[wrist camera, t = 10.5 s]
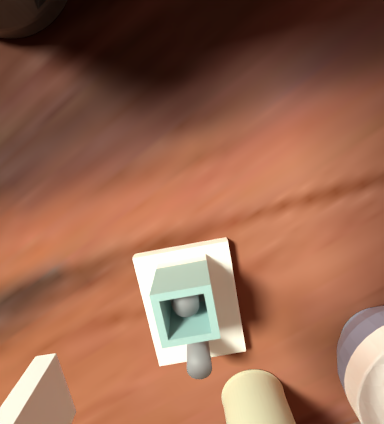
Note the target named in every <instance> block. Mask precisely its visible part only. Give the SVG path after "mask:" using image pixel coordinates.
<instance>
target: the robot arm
mask: <svg viewBox="0 0 384 424" xmlns="http://www.w3.org/2000/svg"><path fill="white" fill-rule="evenodd" d="M66 2H67V0H0V38H8V39H14V38H22V37H27V36H30V35H33V34H35V33H37V32H39V31H41V30H43V29H44V28H46V27H47V26H48V25H50V24H51V23H52V22H53V21H54V20H55V19H56V18H57V16H58V15H59V14H60V13H61V11H62V10H63V8H64V6H65V4H66ZM75 413H76V409H75V406H74V404H73V401H72V398H71V395H70V392H69V389H68V386H67V383H66V380H65V377H64V374H63V372H62V369H61V366H60V363H59V360H58V357H57V354H56V353H55V354H48V355H42V356H36V357H35V358H34V360H33V361H32V362H31V364H30V365H29V367H28V368H27V370H26V371H25V373H24V374H23V375H22V377H21V378H20V380H19V381H18V383H17V384H16V385H15V387H14V388H13V390H12V391H11V393H10V394H9V396H8V397H7V398H6V400H5V401H4V403H3V404H2V406H1V407H0V424H71V423H72V421H73V418H74V416H75Z"/></svg>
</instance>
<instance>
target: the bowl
mask: <svg viewBox="0 0 384 424" xmlns="http://www.w3.org/2000/svg"><path fill="white" fill-rule="evenodd" d="M337 367H338V375H339V378H340V381H341V384H342V386H343V389H344V391H345V393H346V396H347V399H348V401H349V403H350V405H351V406H352V408H353V410H354V412H355V414H356V415H357V417H358V419H359V421H360V422H361V424H384V305H383V306H377V307H372V308H367V309H364V310H362V311H360V312H358V313H356V314H355V315H353V316H352V317H351V318H350V319H349V320H348V321H347V322H346V324H345V325H344V327H343V329H342V332H341V336H340V338H339V341H338V345H337Z"/></svg>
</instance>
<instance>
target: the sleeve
mask: <svg viewBox="0 0 384 424" xmlns="http://www.w3.org/2000/svg"><path fill="white" fill-rule="evenodd" d="M193 295H198V296H199V309H198V311H197V313H196V314H194V315H193V316H191V317H181V316H179V315H177V314H176V313H175V312H174V310H173V299H176V298H182V297H187V296H193ZM149 297H150V301H151V305H152V309H153V314H154V318H155V322H156V326H157V330H158V334H159V338H160V342H161V346H162V349H163V348H168V347H174V346H180V345H186V344H191V343H197V342H203V341H209V340H214V339H220V338H221V337H220V331H219V325H218V320H217V314H216V309H215V303H214V297H213V292H212V287H211V281H210V276H209V271H208V265H207V260H206V254H200V255H194V256H189V257H183V258H178V259H172V260H167V261H161V262H158V263H157V267H156V271H155V275H154V279H153V283H152V286H151V290H150V294H149Z"/></svg>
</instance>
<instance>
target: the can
mask: <svg viewBox="0 0 384 424" xmlns="http://www.w3.org/2000/svg"><path fill="white" fill-rule="evenodd" d="M222 403H223V406H224V411H225V417H226V424H296V423H295V420H294V418H293V415H292V412H291V410H290V407H289V405H288V402H287V400H286V397H285V394H284V390H283V386H282V384H281V382H280V381H279V380H278V378H277V377H275V376H274V375H273V374H271V373H269V372H267V371H264V370H259V369H250V370H245V371H242V372H239V373H237V374H236V375H234V376H233V377H231V378H230V379H229V380H228V381H227V383H226V384H225V386H224V388H223V391H222Z"/></svg>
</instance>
